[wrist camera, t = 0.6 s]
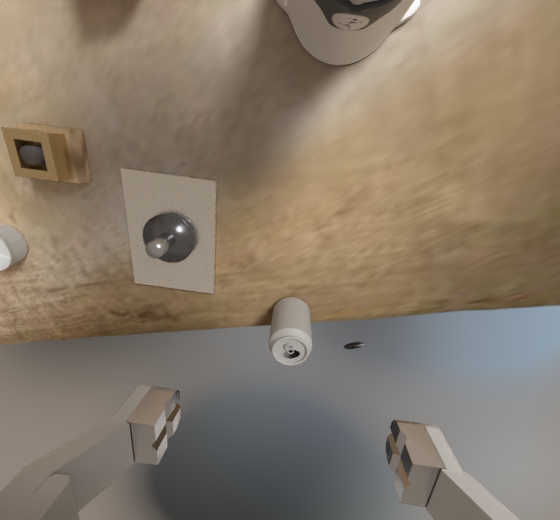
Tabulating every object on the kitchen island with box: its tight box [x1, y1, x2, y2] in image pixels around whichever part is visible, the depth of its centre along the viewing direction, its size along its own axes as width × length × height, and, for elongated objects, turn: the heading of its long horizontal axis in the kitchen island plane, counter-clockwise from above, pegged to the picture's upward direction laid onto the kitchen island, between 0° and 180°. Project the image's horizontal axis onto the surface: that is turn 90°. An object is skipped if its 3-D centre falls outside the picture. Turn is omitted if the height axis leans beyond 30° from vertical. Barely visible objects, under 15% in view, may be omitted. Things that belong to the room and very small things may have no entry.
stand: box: [16, 123, 92, 184], centre depth 41 cm, size 8×8×6 cm
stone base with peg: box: [120, 168, 218, 294], centre depth 46 cm, size 22×16×8 cm
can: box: [269, 297, 312, 365], centre depth 49 cm, size 8×8×12 cm
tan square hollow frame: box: [1, 127, 74, 181], centre depth 40 cm, size 7×7×3 cm
